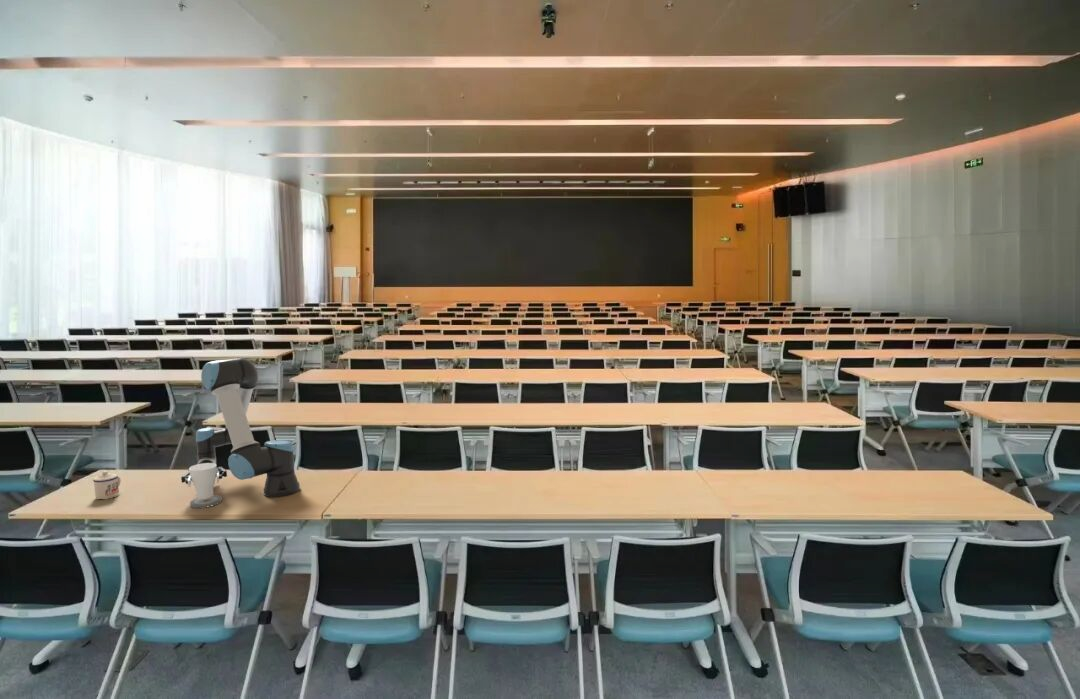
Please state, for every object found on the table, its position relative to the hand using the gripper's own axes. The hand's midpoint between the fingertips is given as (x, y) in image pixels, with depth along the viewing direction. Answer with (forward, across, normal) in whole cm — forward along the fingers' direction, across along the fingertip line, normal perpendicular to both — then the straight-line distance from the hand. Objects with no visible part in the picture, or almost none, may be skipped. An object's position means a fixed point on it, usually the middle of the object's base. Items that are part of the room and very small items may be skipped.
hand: (203, 481), depth 263 cm
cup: (-4, 0, -8) cm, 9 cm away
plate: (-4, 0, -11) cm, 12 cm away
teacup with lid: (-37, +40, -11) cm, 55 cm away
